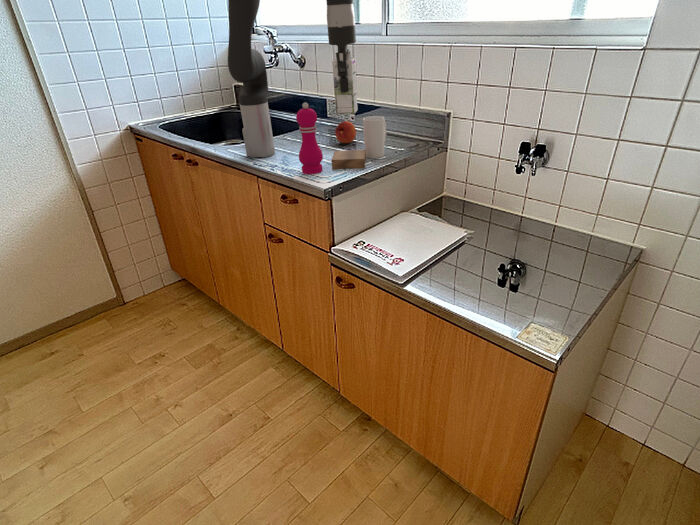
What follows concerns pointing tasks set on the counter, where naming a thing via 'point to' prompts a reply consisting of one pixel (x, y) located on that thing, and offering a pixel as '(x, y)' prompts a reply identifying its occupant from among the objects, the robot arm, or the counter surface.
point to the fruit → (345, 132)
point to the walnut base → (349, 159)
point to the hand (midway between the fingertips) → (345, 90)
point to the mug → (374, 136)
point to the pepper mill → (309, 141)
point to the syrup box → (348, 100)
